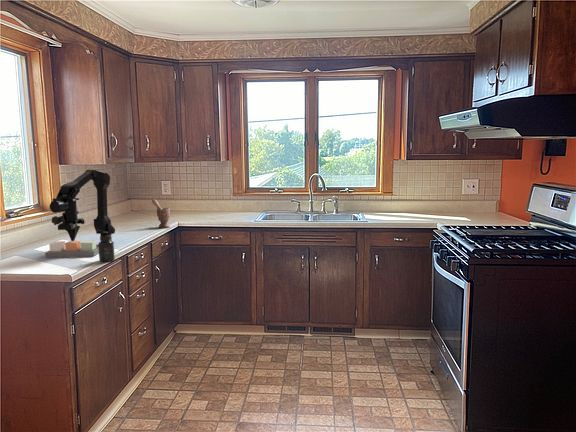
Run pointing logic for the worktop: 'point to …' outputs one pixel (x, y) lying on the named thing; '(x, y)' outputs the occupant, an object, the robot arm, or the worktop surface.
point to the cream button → (57, 246)
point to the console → (72, 253)
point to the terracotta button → (73, 245)
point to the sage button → (88, 245)
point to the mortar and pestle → (162, 215)
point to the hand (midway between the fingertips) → (72, 240)
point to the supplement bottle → (106, 249)
